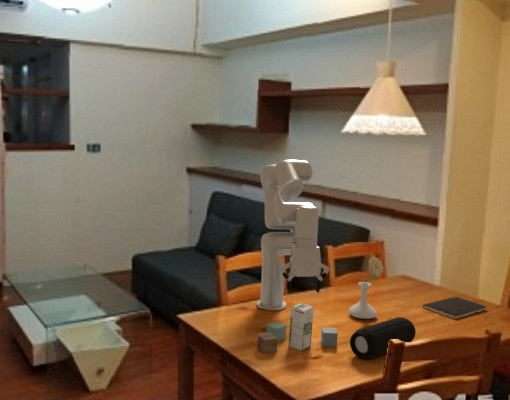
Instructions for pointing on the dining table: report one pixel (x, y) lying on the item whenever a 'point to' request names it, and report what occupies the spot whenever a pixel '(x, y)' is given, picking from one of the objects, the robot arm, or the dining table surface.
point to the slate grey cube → (329, 337)
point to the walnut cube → (267, 343)
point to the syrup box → (301, 326)
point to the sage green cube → (277, 330)
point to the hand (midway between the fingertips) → (303, 291)
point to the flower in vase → (362, 306)
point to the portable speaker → (381, 337)
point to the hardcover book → (454, 307)
